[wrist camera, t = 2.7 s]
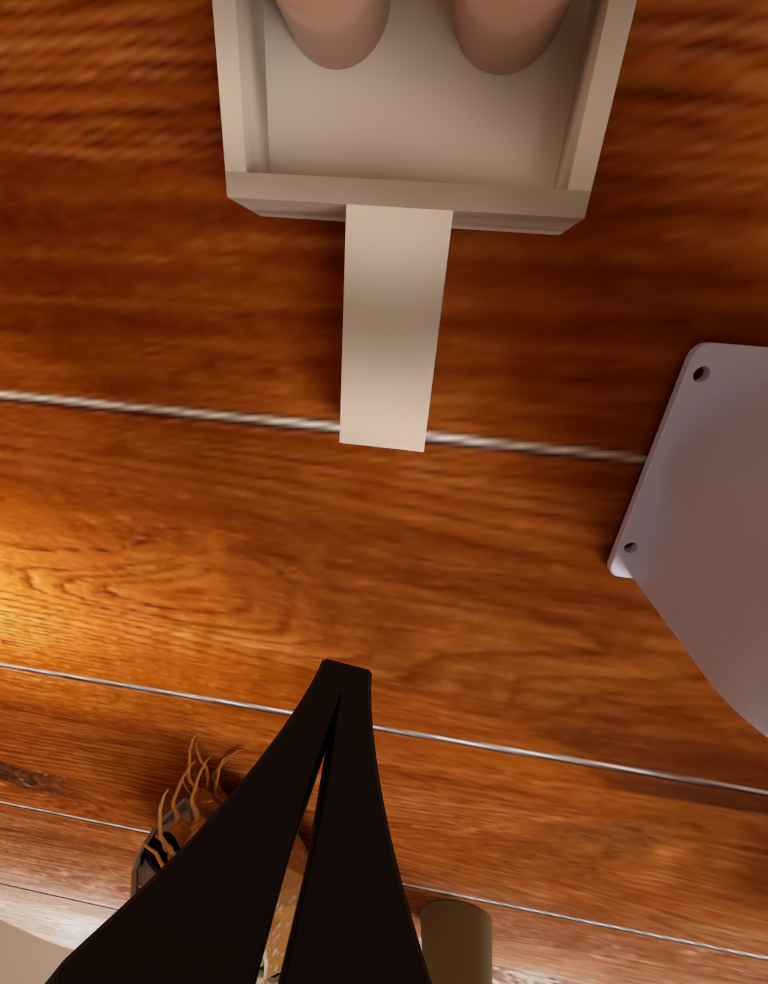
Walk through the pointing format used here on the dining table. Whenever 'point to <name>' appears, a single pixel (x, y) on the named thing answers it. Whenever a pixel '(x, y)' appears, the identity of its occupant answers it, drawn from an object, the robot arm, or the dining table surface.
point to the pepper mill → (456, 942)
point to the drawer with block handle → (411, 168)
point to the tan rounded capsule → (506, 31)
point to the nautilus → (185, 824)
